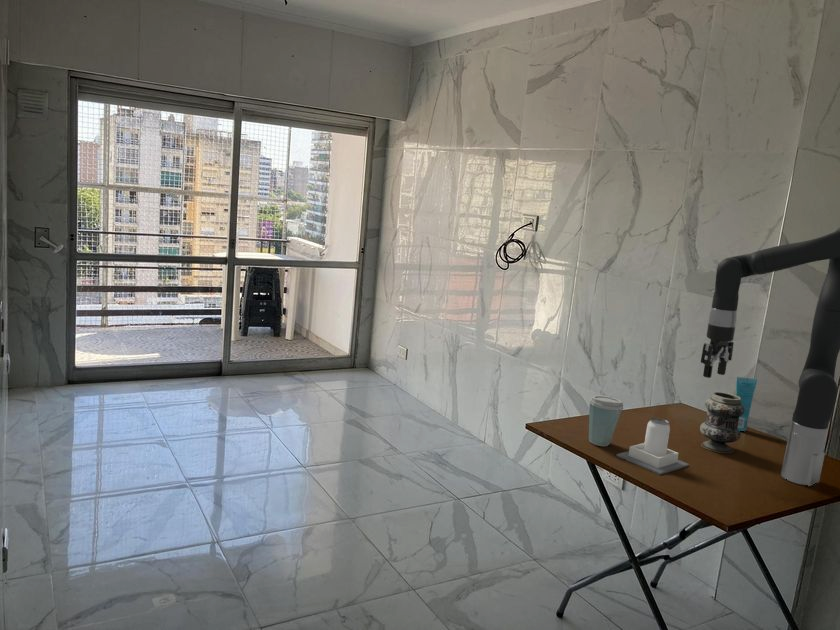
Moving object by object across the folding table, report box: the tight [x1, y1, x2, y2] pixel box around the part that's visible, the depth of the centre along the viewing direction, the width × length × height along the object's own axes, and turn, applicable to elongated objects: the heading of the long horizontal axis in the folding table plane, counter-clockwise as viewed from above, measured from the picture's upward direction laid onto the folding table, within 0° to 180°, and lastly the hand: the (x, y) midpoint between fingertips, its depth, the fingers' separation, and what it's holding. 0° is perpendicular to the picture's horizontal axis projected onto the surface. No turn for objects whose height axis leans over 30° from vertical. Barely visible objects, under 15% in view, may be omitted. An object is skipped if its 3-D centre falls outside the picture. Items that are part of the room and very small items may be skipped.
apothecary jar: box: [699, 391, 745, 455], centre depth 220 cm, size 12×12×18 cm
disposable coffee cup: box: [588, 394, 624, 447], centre depth 215 cm, size 11×11×15 cm
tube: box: [734, 376, 758, 432], centre depth 242 cm, size 7×5×19 cm, turn 99°
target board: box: [616, 442, 690, 476], centre depth 204 cm, size 15×15×4 cm
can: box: [643, 417, 671, 457], centre depth 204 cm, size 6×6×12 cm
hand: (714, 375), depth 208 cm, fingers open, 8 cm apart
